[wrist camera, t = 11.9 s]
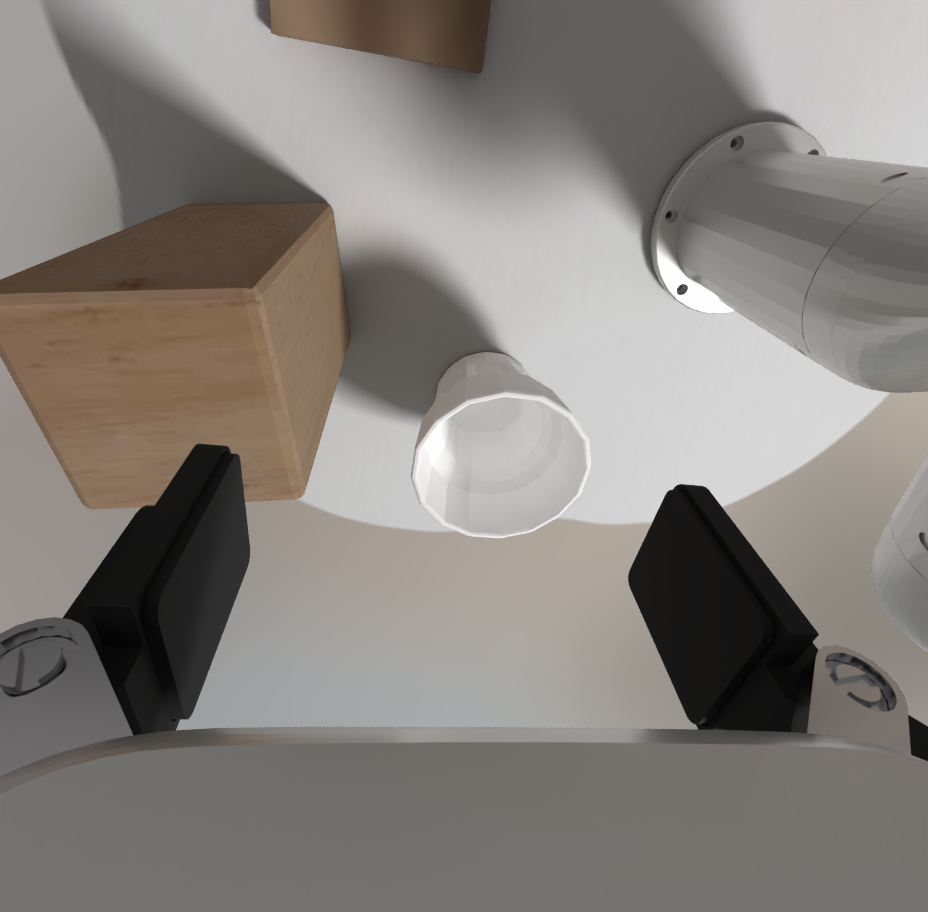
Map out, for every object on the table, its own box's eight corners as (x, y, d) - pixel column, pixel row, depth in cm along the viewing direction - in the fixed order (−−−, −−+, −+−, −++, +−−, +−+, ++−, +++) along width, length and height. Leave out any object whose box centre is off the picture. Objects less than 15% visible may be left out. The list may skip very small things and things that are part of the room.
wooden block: (181, 203, 34) (-44, 291, 17) (333, 201, 34) (255, 284, 18) (222, 345, 39) (81, 514, 23) (352, 341, 40) (305, 503, 24)
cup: (549, 453, 48) (581, 534, 38) (417, 460, 47) (416, 544, 38) (562, 324, 41) (604, 386, 31) (406, 330, 40) (403, 395, 31)
